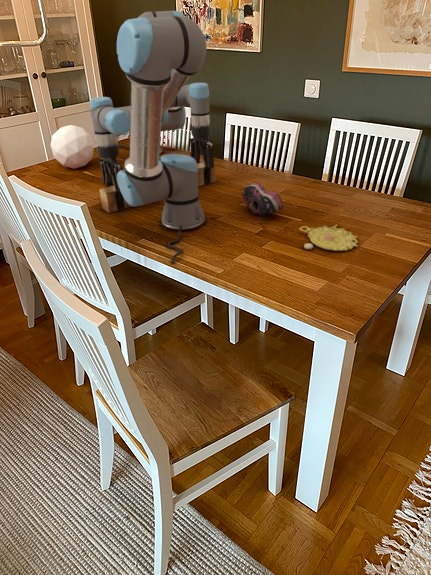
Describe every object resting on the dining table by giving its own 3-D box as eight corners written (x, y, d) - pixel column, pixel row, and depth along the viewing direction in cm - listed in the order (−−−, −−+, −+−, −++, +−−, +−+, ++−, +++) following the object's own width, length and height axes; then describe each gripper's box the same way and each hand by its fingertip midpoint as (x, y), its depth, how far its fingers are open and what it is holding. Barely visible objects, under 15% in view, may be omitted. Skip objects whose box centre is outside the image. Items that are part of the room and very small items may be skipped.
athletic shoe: (254, 181, 170) (227, 189, 167) (283, 176, 151) (253, 185, 147) (260, 210, 173) (234, 218, 170) (290, 209, 154) (261, 219, 150)
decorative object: (343, 255, 128) (285, 234, 139) (342, 262, 130) (284, 241, 140) (372, 230, 142) (317, 213, 152) (371, 237, 143) (316, 219, 153)
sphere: (81, 183, 214) (66, 157, 195) (51, 163, 218) (34, 136, 200) (107, 156, 219) (95, 128, 200) (77, 137, 223) (63, 108, 205)
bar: (109, 212, 165) (106, 193, 161) (102, 208, 169) (99, 189, 164) (215, 181, 191) (215, 163, 187) (207, 178, 195) (207, 160, 191)
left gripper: (222, 127, 174) (223, 184, 186) (194, 120, 186) (196, 174, 199) (207, 130, 170) (209, 189, 182) (179, 123, 182) (183, 178, 195)
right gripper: (129, 147, 152) (138, 210, 165) (104, 137, 165) (114, 197, 177) (110, 152, 148) (120, 216, 161) (86, 141, 161) (97, 201, 173)
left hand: (202, 181), depth 190 cm, fingers closed on bar, 6 cm apart
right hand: (117, 206), depth 169 cm, fingers closed on bar, 6 cm apart
